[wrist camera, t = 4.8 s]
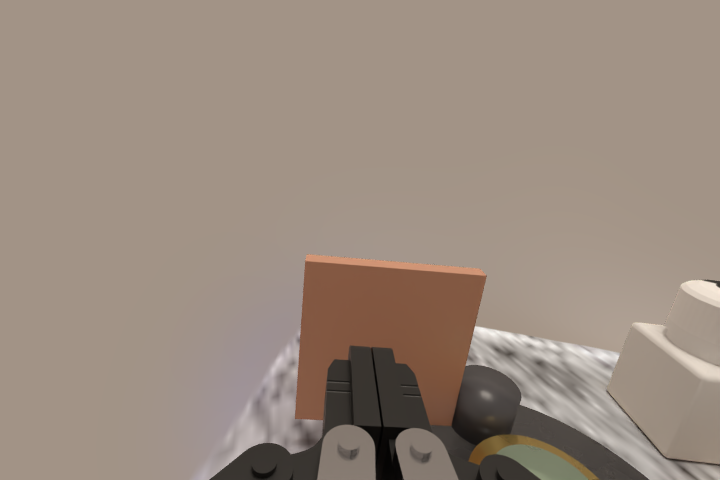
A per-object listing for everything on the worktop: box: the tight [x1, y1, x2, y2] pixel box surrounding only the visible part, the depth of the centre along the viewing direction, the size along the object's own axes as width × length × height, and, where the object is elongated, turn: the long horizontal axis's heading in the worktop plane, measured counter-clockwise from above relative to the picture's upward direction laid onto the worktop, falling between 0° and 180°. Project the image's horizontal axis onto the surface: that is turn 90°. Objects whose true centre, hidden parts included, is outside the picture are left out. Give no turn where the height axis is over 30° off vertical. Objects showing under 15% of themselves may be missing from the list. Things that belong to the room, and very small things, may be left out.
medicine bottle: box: [607, 280, 720, 464], centre depth 27 cm, size 7×7×12 cm
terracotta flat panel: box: [295, 254, 521, 446], centre depth 22 cm, size 14×4×11 cm, turn 93°
